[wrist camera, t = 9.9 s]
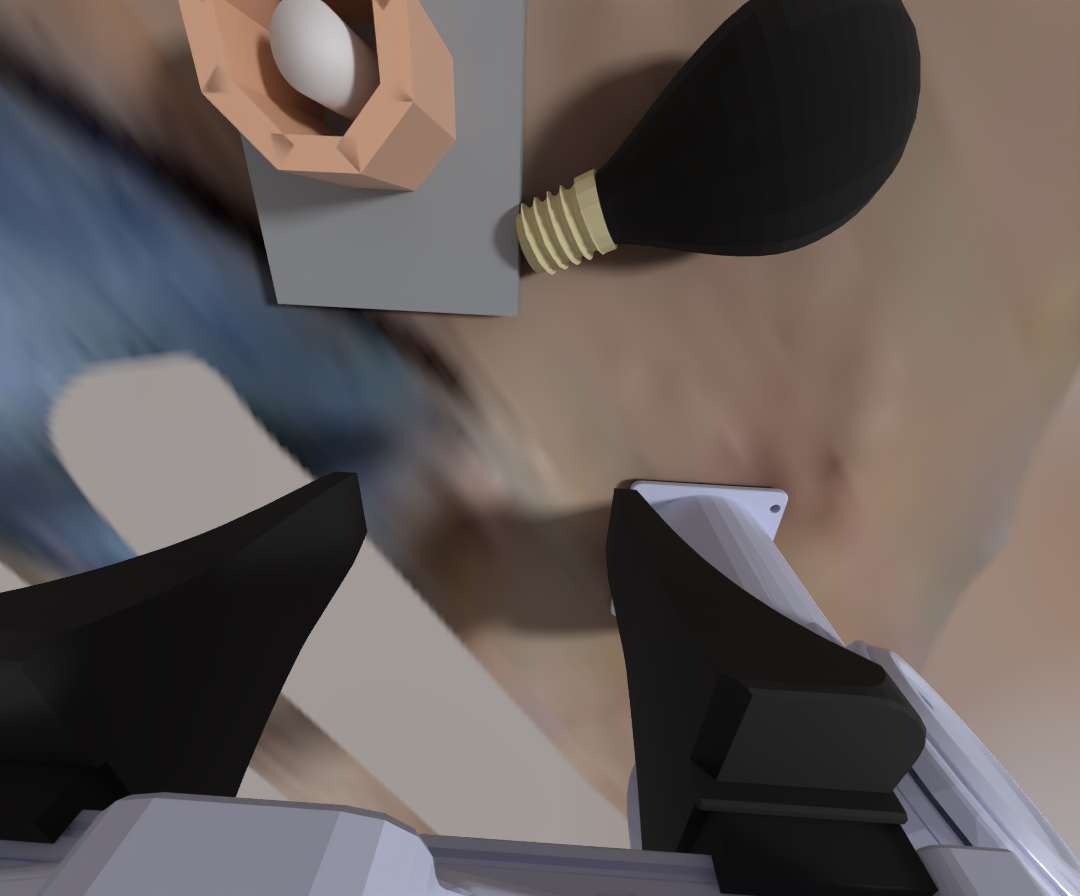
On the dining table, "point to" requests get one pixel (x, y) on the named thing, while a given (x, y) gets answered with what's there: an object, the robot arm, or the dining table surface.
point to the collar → (298, 121)
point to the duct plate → (399, 215)
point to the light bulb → (750, 139)
